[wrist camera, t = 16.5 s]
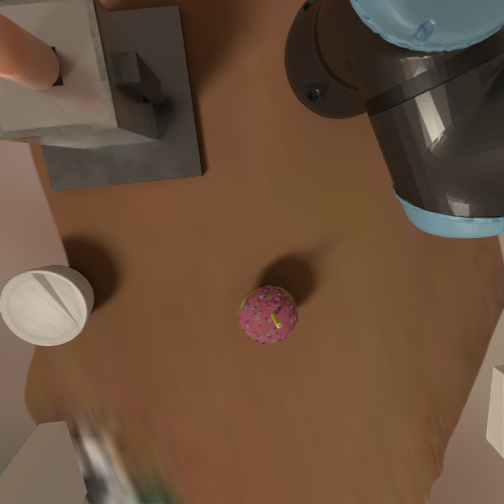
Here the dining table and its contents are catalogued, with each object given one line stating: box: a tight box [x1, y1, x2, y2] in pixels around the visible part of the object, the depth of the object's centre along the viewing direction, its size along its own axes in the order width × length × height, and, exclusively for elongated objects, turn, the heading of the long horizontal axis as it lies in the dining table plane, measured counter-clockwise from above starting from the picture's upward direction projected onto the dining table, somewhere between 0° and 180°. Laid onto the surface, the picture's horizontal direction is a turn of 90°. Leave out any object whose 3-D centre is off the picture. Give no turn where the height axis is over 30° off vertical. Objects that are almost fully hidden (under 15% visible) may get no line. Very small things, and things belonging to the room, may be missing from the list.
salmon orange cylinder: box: [0, 14, 64, 90], centre depth 29 cm, size 4×4×24 cm
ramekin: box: [0, 265, 94, 346], centre depth 46 cm, size 11×11×5 cm
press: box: [0, 0, 203, 191], centre depth 34 cm, size 20×20×17 cm
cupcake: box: [239, 285, 298, 344], centre depth 45 cm, size 9×8×12 cm
